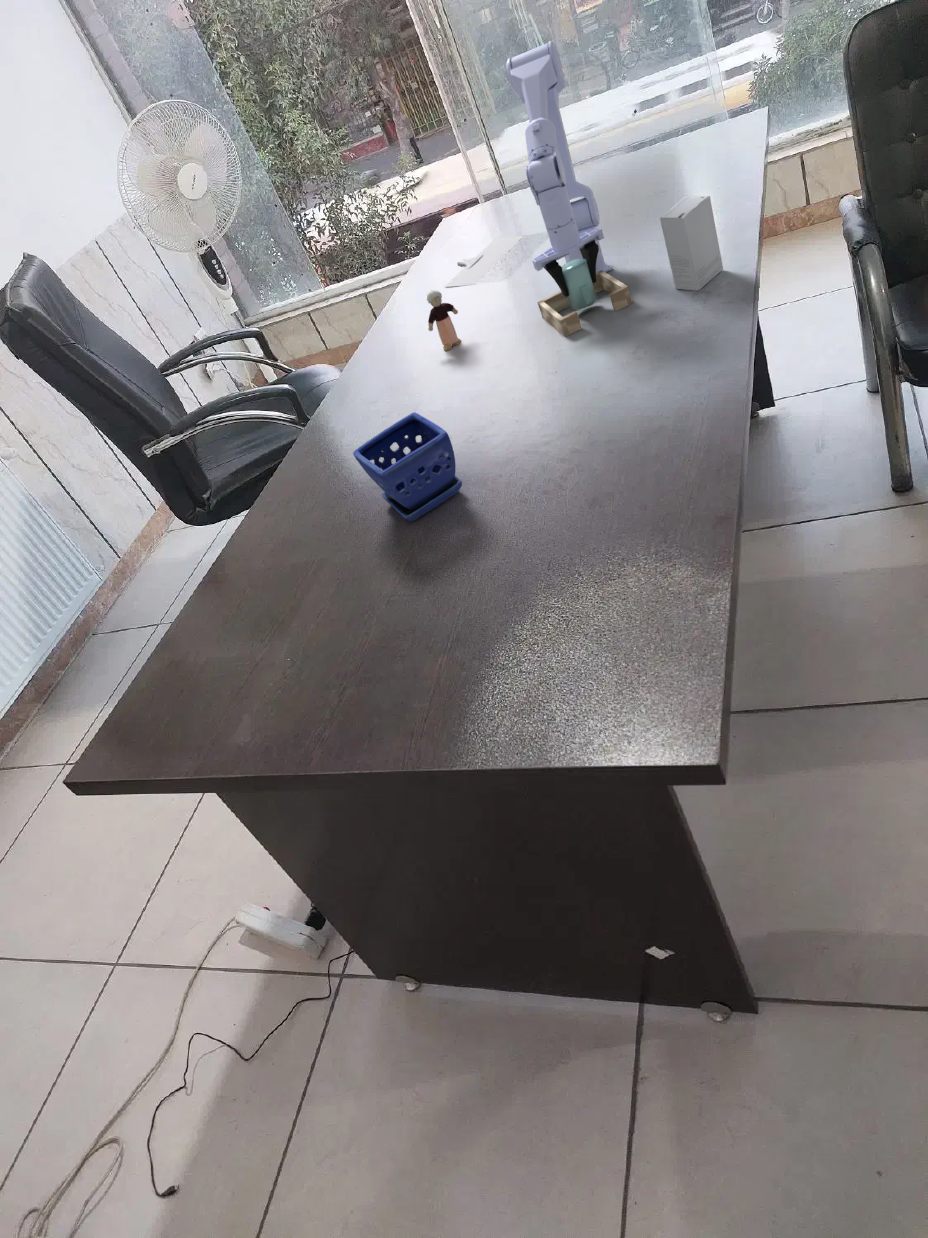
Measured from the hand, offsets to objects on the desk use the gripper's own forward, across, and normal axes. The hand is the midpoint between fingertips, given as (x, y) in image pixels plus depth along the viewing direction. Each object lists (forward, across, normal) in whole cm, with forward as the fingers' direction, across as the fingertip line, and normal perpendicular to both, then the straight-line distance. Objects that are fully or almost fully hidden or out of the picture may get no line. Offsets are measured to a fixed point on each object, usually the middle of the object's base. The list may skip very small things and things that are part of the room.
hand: (579, 288), depth 175 cm
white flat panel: (+6, -4, +53) cm, 53 cm away
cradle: (+5, 0, -1) cm, 5 cm away
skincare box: (+5, +20, -11) cm, 23 cm away
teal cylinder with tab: (+3, 0, -1) cm, 3 cm away
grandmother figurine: (+5, -26, +16) cm, 31 cm away
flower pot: (+5, -47, -40) cm, 62 cm away
